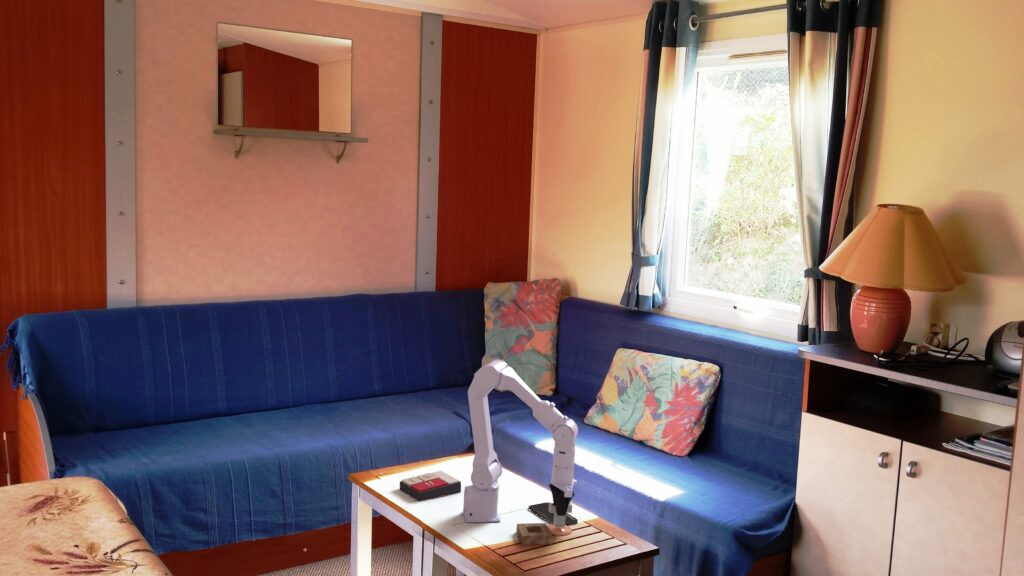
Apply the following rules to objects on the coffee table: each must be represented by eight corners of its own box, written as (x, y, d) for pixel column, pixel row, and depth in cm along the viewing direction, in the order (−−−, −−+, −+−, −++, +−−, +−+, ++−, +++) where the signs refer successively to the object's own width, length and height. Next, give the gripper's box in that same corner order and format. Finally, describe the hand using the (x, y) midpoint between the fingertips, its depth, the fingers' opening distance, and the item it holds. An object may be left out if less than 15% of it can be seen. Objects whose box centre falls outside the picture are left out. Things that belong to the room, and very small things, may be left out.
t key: (549, 527, 241) (551, 506, 240) (547, 523, 243) (548, 502, 243) (570, 527, 242) (572, 506, 241) (568, 523, 245) (570, 502, 244)
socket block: (522, 545, 232) (523, 536, 231) (516, 532, 240) (516, 523, 239) (552, 544, 233) (552, 535, 233) (545, 531, 241) (545, 523, 241)
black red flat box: (399, 478, 265) (441, 468, 274) (399, 492, 266) (441, 481, 275) (418, 490, 256) (461, 479, 266) (418, 504, 257) (461, 493, 266)
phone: (549, 501, 261) (579, 520, 248) (549, 505, 261) (579, 524, 249) (526, 505, 257) (556, 525, 244) (526, 509, 257) (555, 529, 244)
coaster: (549, 535, 239) (549, 534, 239) (543, 525, 246) (543, 523, 246) (574, 535, 240) (574, 533, 240) (567, 524, 247) (567, 523, 247)
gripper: (584, 474, 234) (581, 523, 236) (570, 456, 248) (567, 502, 250) (559, 474, 233) (555, 523, 235) (546, 456, 247) (542, 503, 249)
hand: (559, 513), depth 242 cm, fingers closed on t key, 3 cm apart
